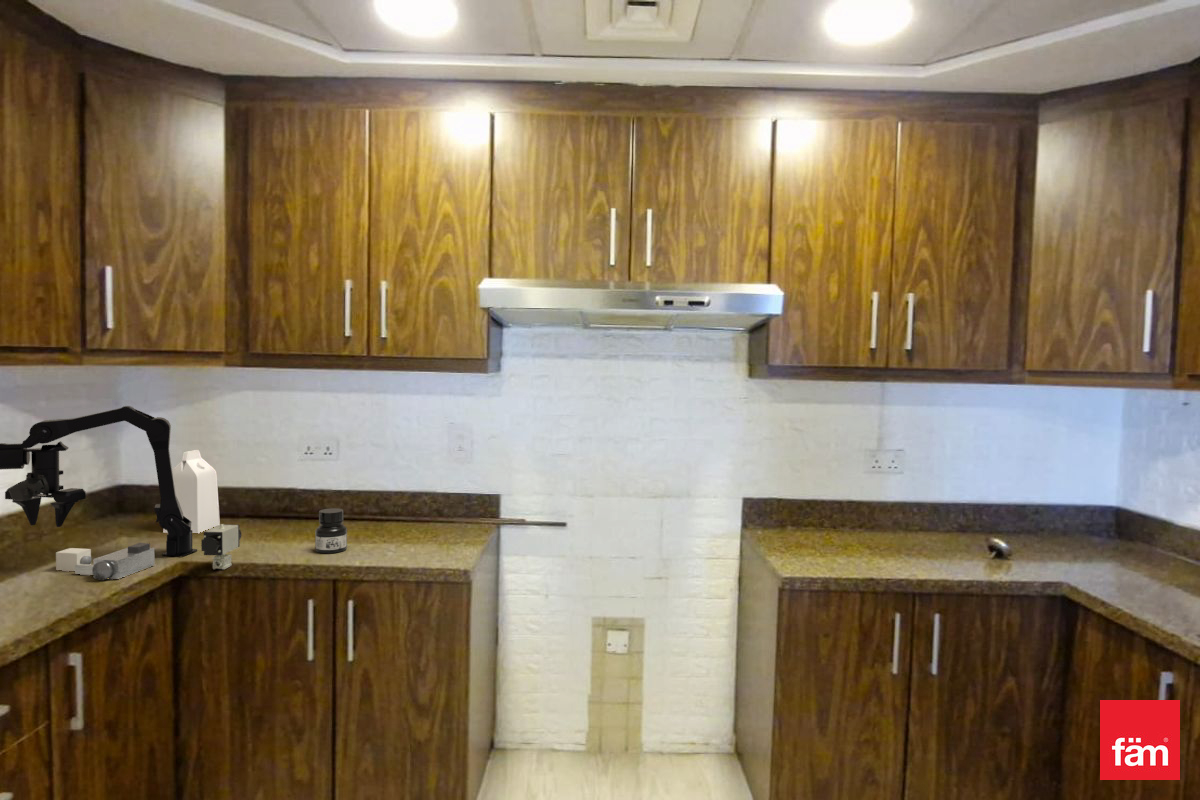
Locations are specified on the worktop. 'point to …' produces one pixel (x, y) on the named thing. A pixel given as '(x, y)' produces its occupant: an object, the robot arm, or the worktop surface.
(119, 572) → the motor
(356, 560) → the worktop surface
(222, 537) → the pneumatic valve
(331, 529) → the ink bottle
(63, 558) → the white block
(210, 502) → the milk
